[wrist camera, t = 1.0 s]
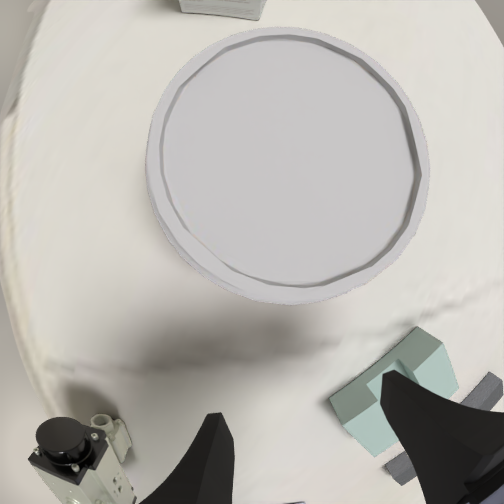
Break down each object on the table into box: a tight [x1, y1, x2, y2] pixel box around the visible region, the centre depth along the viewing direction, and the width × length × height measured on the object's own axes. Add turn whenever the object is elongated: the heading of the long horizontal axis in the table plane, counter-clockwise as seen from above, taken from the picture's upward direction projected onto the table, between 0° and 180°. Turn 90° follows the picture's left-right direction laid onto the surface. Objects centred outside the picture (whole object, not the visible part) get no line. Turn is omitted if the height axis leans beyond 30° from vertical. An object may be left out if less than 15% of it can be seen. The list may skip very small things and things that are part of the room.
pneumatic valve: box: [28, 414, 137, 504], centre depth 15 cm, size 6×12×12 cm, turn 1°
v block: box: [329, 326, 459, 457], centre depth 19 cm, size 7×10×4 cm
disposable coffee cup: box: [145, 27, 430, 305], centre depth 13 cm, size 10×10×12 cm
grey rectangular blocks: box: [385, 372, 503, 486], centre depth 21 cm, size 4×18×3 cm, turn 128°
